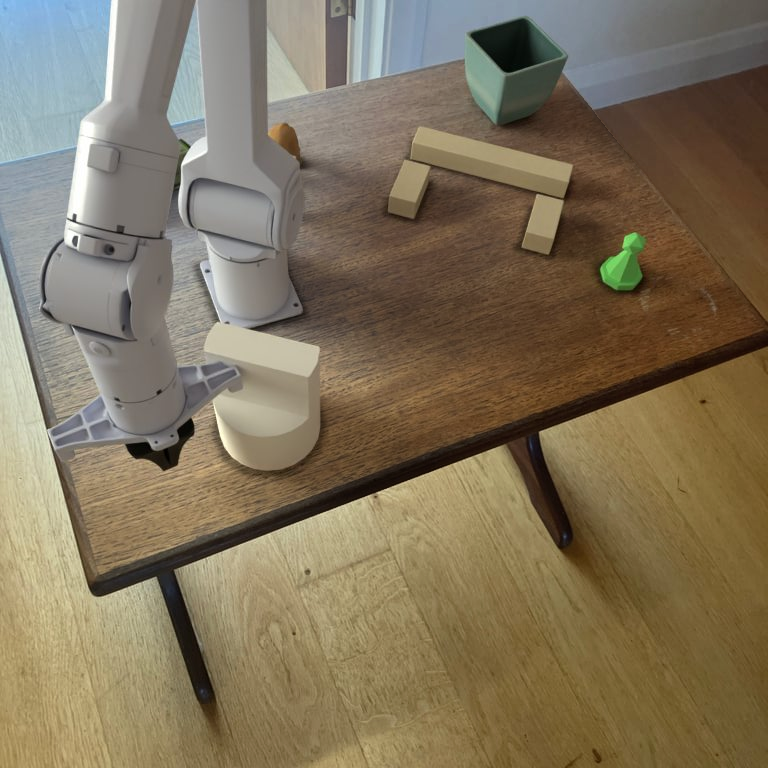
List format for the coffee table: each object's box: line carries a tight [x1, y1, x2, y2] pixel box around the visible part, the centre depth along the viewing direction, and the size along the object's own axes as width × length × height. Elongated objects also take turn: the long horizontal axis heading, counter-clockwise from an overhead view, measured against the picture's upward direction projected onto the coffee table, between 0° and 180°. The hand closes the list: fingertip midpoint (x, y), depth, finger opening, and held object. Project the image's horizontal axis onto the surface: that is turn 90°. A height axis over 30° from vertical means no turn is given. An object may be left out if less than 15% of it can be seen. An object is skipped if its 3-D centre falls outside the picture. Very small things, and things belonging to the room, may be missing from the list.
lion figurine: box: [268, 122, 305, 191], centre depth 86 cm, size 15×5×9 cm, turn 4°
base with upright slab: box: [203, 321, 321, 472], centre depth 69 cm, size 9×9×12 cm
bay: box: [387, 125, 574, 255], centre depth 91 cm, size 12×18×2 cm, turn 73°
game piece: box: [599, 231, 647, 291], centre depth 84 cm, size 4×4×6 cm
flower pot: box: [464, 15, 569, 126], centre depth 96 cm, size 9×9×9 cm
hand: (166, 459), depth 69 cm, fingers closed
